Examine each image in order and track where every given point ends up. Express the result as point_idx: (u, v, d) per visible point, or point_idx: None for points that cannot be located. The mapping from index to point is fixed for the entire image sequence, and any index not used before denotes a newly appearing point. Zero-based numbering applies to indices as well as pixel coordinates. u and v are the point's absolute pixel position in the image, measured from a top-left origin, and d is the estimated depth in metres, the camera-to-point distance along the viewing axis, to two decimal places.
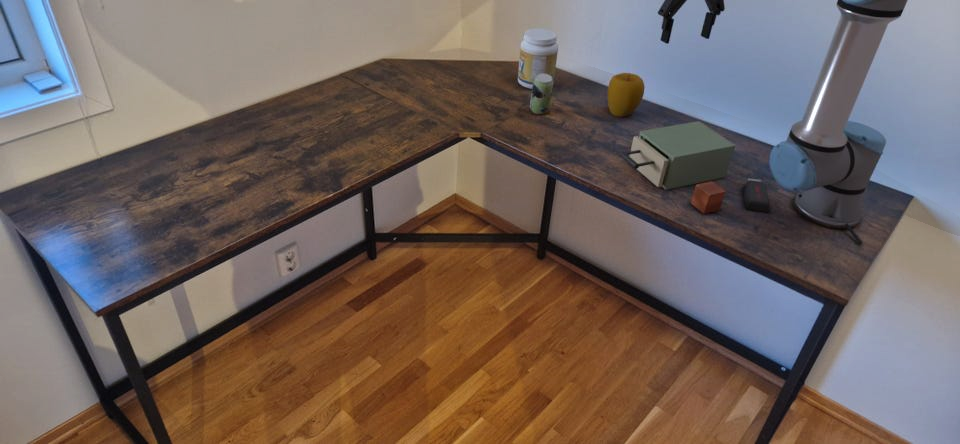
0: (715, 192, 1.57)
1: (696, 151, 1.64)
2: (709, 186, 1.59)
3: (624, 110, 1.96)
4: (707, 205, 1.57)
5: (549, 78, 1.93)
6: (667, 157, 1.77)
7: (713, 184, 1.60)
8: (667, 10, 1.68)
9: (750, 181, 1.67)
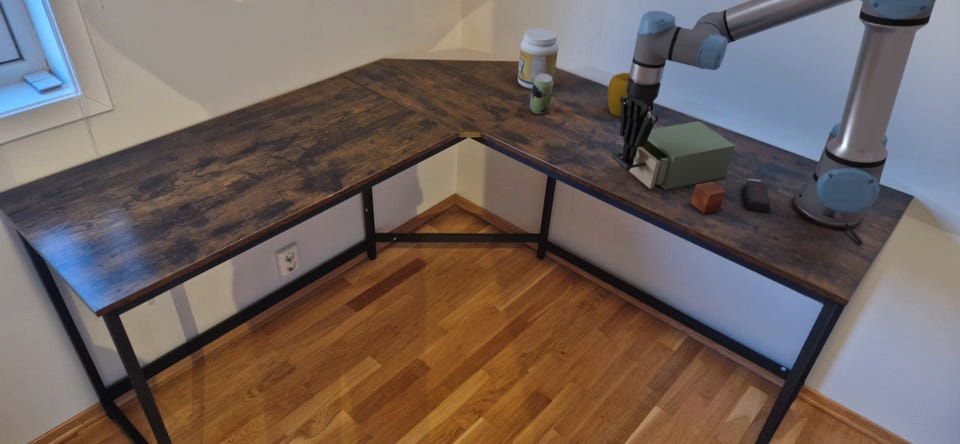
0: (715, 192, 1.57)
1: (696, 151, 1.64)
2: (709, 186, 1.59)
3: None
4: (707, 205, 1.57)
5: (549, 78, 1.93)
6: (659, 158, 1.76)
7: (713, 184, 1.60)
8: (620, 129, 1.64)
9: (750, 181, 1.67)
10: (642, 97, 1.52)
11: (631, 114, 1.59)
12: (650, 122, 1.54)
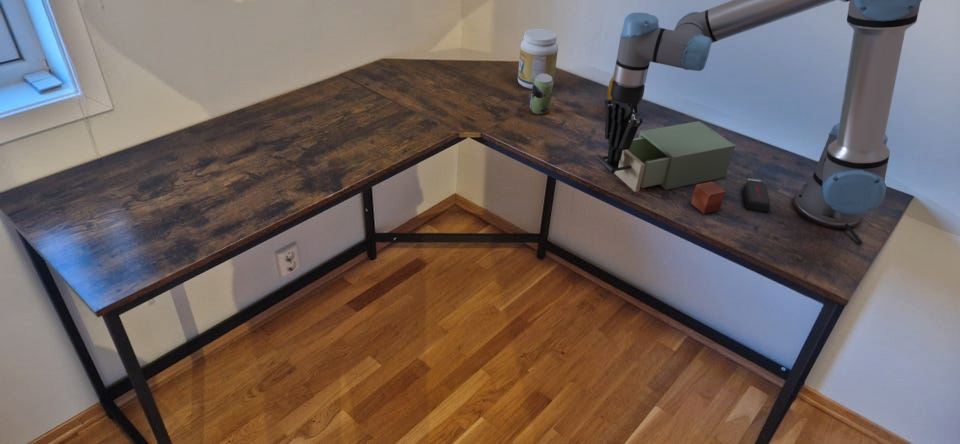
0: (715, 192, 1.57)
1: (696, 151, 1.64)
2: (709, 186, 1.59)
3: None
4: (707, 205, 1.57)
5: (549, 78, 1.93)
6: (646, 161, 1.74)
7: (713, 184, 1.60)
8: (605, 132, 1.63)
9: (750, 181, 1.67)
10: (626, 99, 1.51)
11: (615, 117, 1.57)
12: (634, 125, 1.52)
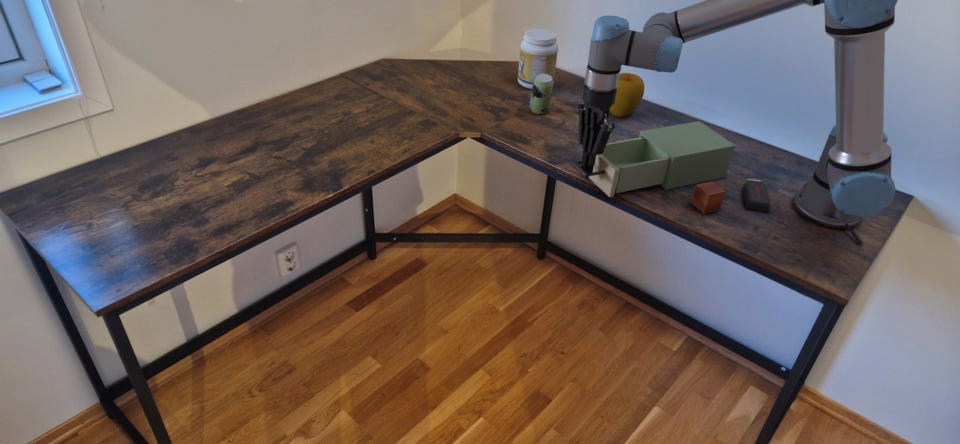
0: (715, 192, 1.57)
1: (696, 151, 1.64)
2: (709, 186, 1.59)
3: (624, 110, 1.96)
4: (707, 205, 1.57)
5: (549, 78, 1.93)
6: (622, 166, 1.72)
7: (713, 184, 1.60)
8: (579, 136, 1.60)
9: (750, 181, 1.67)
10: (598, 104, 1.48)
11: (588, 121, 1.55)
12: (606, 130, 1.49)
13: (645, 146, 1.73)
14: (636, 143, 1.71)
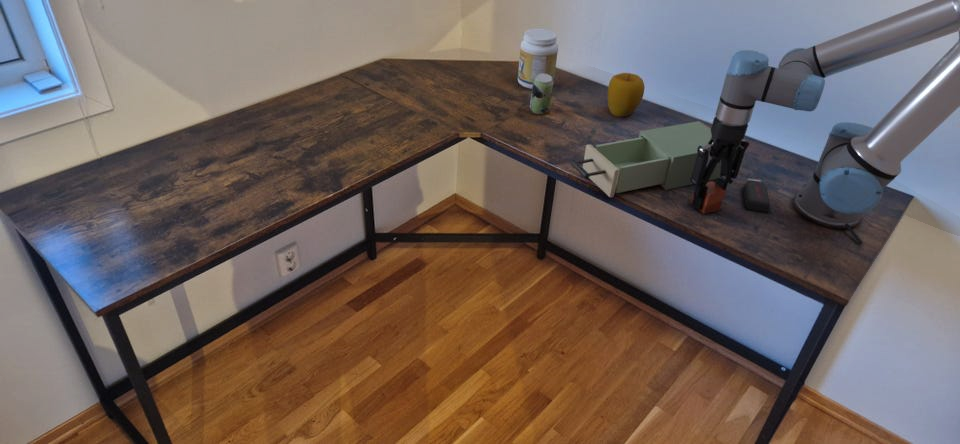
0: (715, 192, 1.57)
1: (696, 151, 1.64)
2: (709, 186, 1.59)
3: (624, 110, 1.96)
4: (707, 205, 1.57)
5: (549, 78, 1.93)
6: (622, 166, 1.72)
7: (713, 184, 1.60)
8: (698, 180, 1.53)
9: (750, 181, 1.67)
10: None
11: None
12: None
13: (645, 146, 1.73)
14: (636, 143, 1.71)
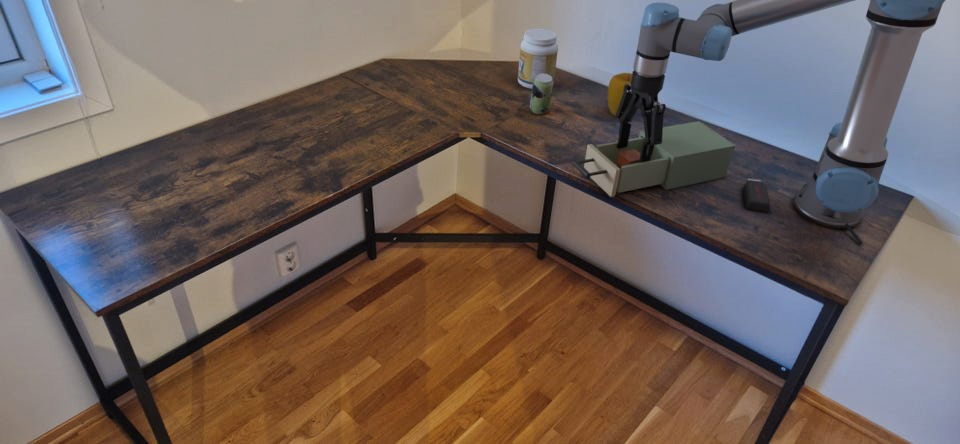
0: (625, 155, 1.65)
1: (696, 151, 1.64)
2: (634, 154, 1.66)
3: None
4: (617, 162, 1.68)
5: (549, 78, 1.93)
6: None
7: None
8: (617, 112, 1.66)
9: (750, 181, 1.67)
10: (647, 89, 1.51)
11: (633, 105, 1.59)
12: (658, 110, 1.51)
13: None
14: (637, 143, 1.71)
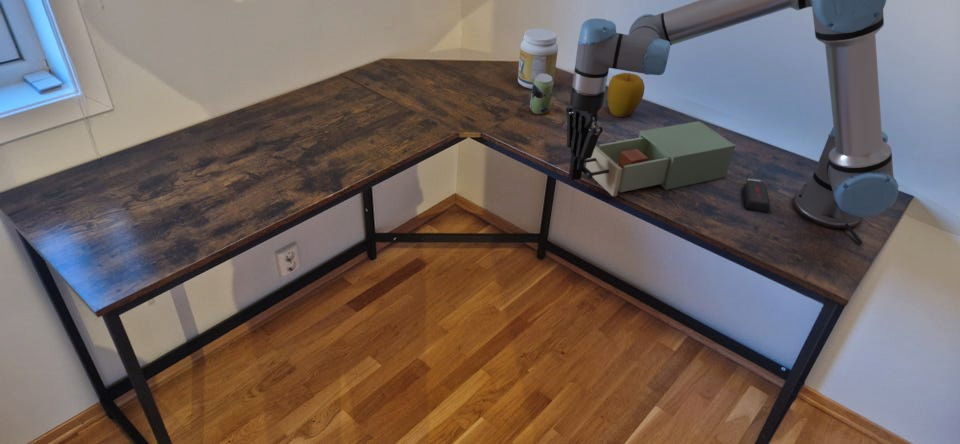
0: (627, 155, 1.65)
1: (696, 151, 1.64)
2: (636, 154, 1.66)
3: (624, 110, 1.96)
4: (619, 162, 1.68)
5: (549, 78, 1.93)
6: None
7: (641, 157, 1.65)
8: (567, 140, 1.59)
9: (750, 181, 1.67)
10: (585, 108, 1.47)
11: (576, 125, 1.53)
12: (594, 133, 1.48)
13: (648, 146, 1.73)
14: (639, 142, 1.71)
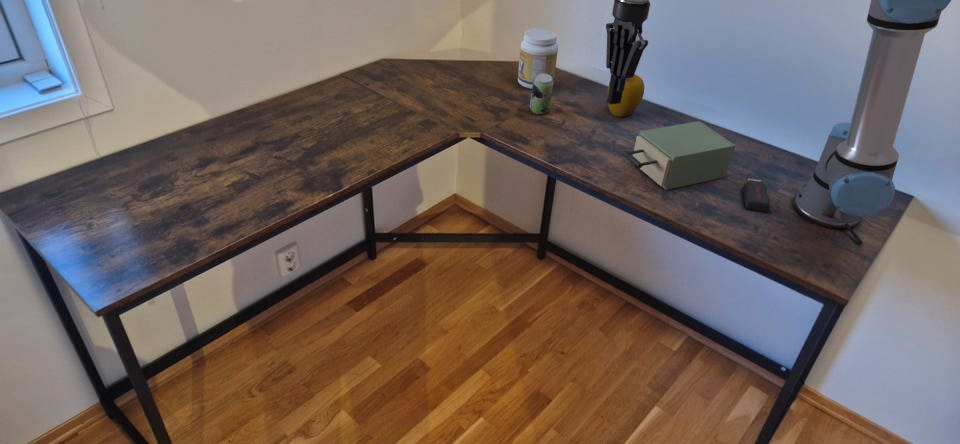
0: None
1: (696, 151, 1.64)
2: None
3: (624, 110, 1.96)
4: None
5: (549, 78, 1.93)
6: None
7: None
8: (607, 60, 1.48)
9: (750, 181, 1.67)
10: (630, 18, 1.36)
11: (618, 41, 1.42)
12: (639, 47, 1.37)
13: None
14: None
